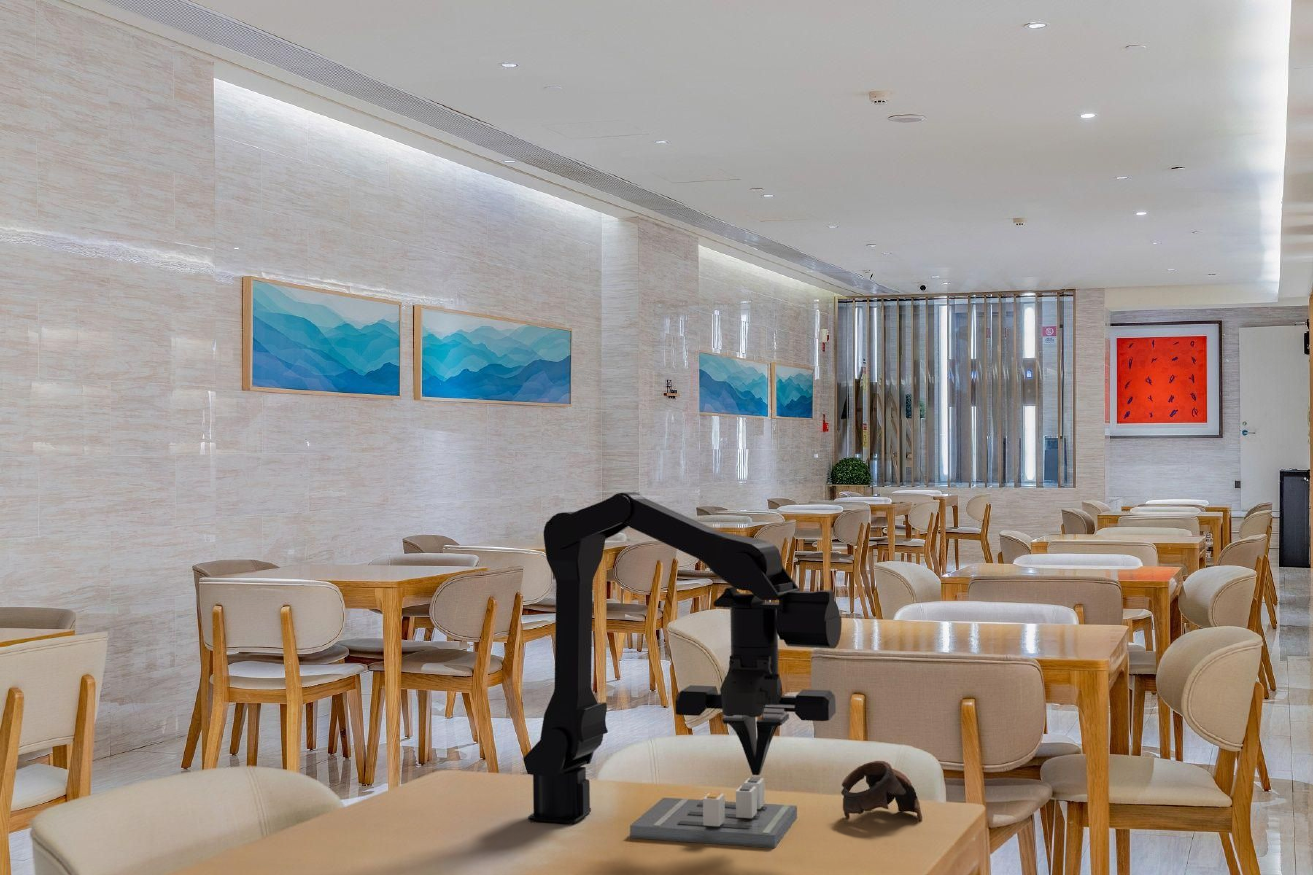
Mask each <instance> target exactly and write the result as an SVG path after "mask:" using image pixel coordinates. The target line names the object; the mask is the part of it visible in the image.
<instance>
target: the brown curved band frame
mask: <svg viewBox="0 0 1313 875" xmlns="http://www.w3.org/2000/svg"><path fill="white" fill-rule="evenodd" d="M863 779H865V782H866V784H867V786H868V788H867V789H864V790H861V791H859V792H858V791H857V792H851V789H852V788H853V787H854V786H855V785H856V784H858V783H859V782H860V781H861V780H863ZM841 787H843V788H842V790H841V792H840V793H841V795H842V796H843V798H842V811H843V815H844V816H845V818H846V819H847V820H849V819H850V818H851V816H850V814H858V815H861V814H863V813H864V812H865V813H866V812H871V811H873V810H875V809H877V808H878V809H879V808H883V809H886V810H889V809H890V808H889V806H888V805H890V804H891V803H892V802H893V801H894V800H895V803H896V805H897V811H898V813H905V812H911V813H916V818H917V821H918V822H919V823H922V822H923V815H922V811H921V806H920V805H921V804H920V801H919V798H918V796H917V792H916V789H915V787H914V786H913V785H912V782H911V781H910V779H908V777H907V775H905V774H904V773H903V772H901V771H899V770H898V769H894V768H892V765H891V764H890V763H889V762H886V760H884V761H883V760H874V761H869V762H866V763H864V764H862V765H859V766H857V767H856V768H854V770H852V771H851V772H850V773H848V775H846V777H845V778H844V779H843V781H842V783H841Z"/></svg>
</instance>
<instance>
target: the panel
mask: <svg viewBox="0 0 1313 875" xmlns="http://www.w3.org/2000/svg"><path fill="white" fill-rule="evenodd" d="M797 818H798V805H790V804H776V803H775V804H774V803H765V804H764V805H763V806H762V807H761V808H760V809H757V813H756V814H755V815H754V817H753V818H739V817H736V801H729V800H728V801H725V821H724V822H723V823H722V824H721V825H720V826H706V825H703V799H693V798H678V797H677V798H675V797H662V798H661V799H660V800H659V801H657V802H656V803H655V804H654V805H652V806H651V807H650V808H649V809H648V810H646V811H645V812H644V813H643V814H642V815H641V816H640V817H638V818H637V819H636V820H634V821H633V823H631V824H630V826H629V833H630V834H629V837H630V839H643V840H656V841H668V842H669V841H670V842H684V843H685V842H686V843H697V844H712V845H727V846H737V847H738V846H741V847H752V848H753V847H754V848H757V847H758V848H767V849H769V848H771V849H775V848H777V846H778V844H779V843H780V842H781V841H782V839H783V838H784V836H785V835H786V834H787V832H788V831H789V829H790V828H791V827H792V825H793V824H794V823H795V822H796V820H797Z"/></svg>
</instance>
